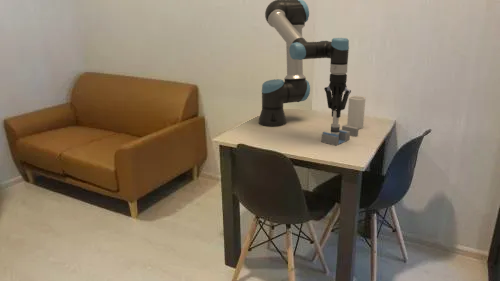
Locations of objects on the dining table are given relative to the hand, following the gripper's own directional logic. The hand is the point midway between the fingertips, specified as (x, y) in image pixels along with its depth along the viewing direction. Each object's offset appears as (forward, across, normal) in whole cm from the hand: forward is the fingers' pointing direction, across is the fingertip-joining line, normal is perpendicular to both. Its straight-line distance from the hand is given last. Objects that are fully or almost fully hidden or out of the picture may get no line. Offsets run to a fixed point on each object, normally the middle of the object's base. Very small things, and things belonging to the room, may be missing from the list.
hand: (335, 123), depth 188 cm
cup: (+9, -5, +28) cm, 30 cm away
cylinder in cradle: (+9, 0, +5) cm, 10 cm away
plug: (+8, 0, 0) cm, 8 cm away
